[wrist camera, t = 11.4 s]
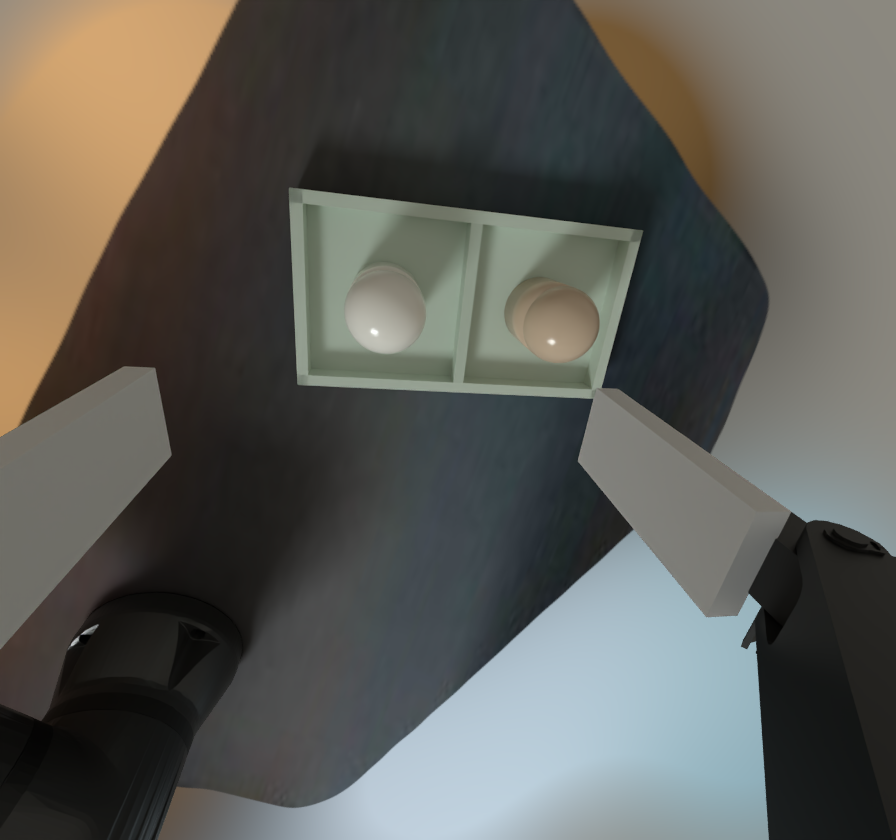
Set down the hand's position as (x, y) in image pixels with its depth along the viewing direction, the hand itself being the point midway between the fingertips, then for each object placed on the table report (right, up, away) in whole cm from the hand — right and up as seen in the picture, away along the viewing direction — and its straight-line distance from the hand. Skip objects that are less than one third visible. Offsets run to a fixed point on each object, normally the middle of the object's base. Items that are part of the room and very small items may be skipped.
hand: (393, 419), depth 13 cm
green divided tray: (+3, +9, +20) cm, 22 cm away
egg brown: (+9, +9, +21) cm, 24 cm away
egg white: (-3, +9, +19) cm, 21 cm away
